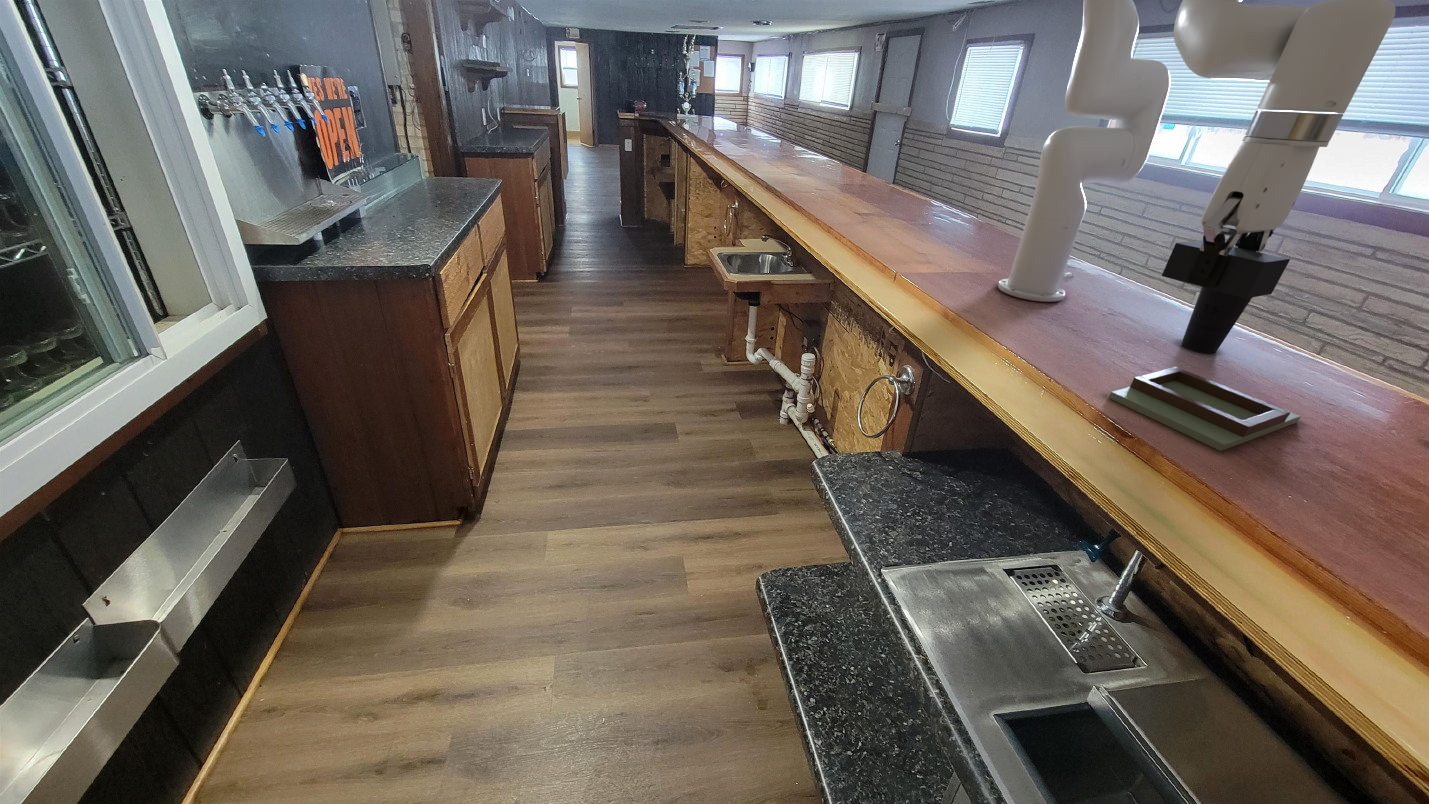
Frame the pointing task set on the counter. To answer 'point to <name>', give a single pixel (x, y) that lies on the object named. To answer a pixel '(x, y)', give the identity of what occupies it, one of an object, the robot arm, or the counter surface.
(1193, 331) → the drinking cup
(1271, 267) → the black rectangular block
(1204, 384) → the rectangular tray
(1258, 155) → the robot arm
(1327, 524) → the counter surface
